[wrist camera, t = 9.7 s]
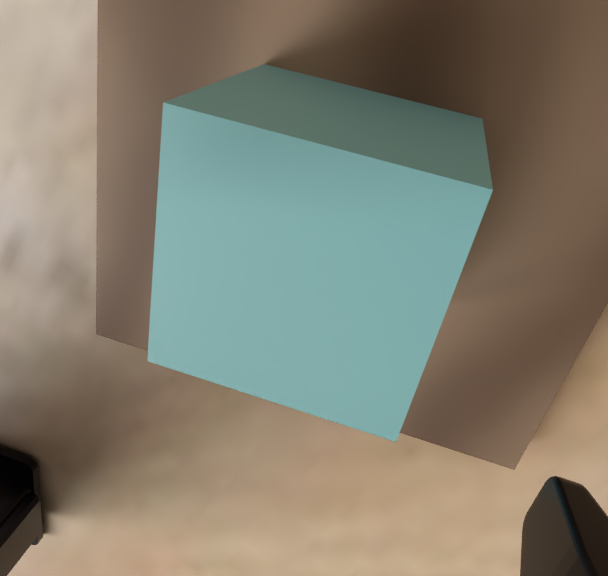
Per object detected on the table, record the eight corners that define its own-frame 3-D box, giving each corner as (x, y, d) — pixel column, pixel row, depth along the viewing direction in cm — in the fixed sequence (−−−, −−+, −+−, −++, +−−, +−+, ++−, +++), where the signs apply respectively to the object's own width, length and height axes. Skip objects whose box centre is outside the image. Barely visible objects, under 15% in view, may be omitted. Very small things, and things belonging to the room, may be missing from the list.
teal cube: (235, 256, 18) (146, 361, 13) (264, 63, 15) (163, 102, 10) (415, 309, 18) (396, 441, 12) (482, 118, 15) (493, 190, 9)
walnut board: (112, 318, 22) (96, 334, 21) (124, -193, 14) (98, -206, 13) (511, 445, 21) (514, 469, 20) (783, -60, 12) (811, -64, 11)
